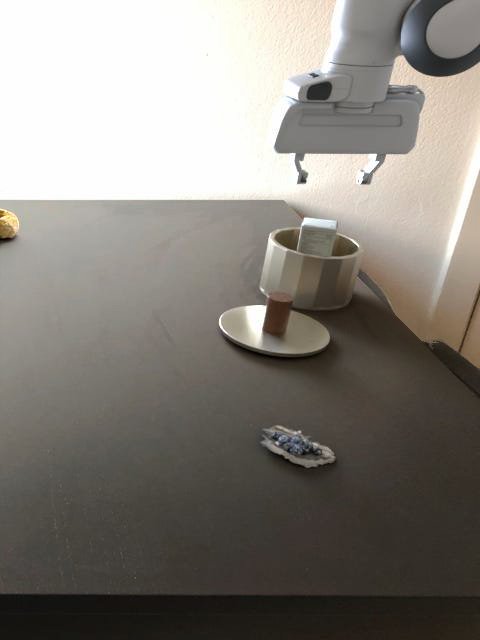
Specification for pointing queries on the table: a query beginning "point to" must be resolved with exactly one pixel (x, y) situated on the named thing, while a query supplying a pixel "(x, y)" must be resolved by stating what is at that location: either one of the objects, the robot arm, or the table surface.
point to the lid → (274, 328)
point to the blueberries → (296, 446)
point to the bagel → (8, 224)
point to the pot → (311, 271)
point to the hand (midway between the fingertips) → (330, 183)
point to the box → (317, 237)
